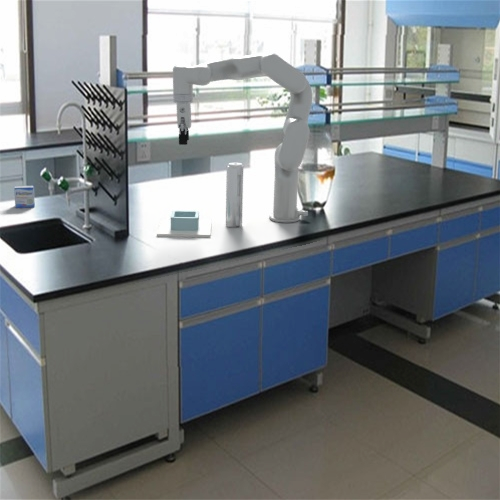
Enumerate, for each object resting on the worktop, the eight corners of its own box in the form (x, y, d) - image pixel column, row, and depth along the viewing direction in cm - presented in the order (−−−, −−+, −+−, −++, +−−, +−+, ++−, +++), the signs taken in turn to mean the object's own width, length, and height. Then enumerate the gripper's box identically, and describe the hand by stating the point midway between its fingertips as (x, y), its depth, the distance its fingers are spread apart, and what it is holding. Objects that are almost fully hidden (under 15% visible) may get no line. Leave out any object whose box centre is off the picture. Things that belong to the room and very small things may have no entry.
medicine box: (15, 208, 302) (13, 188, 300) (15, 205, 307) (14, 185, 304) (34, 207, 304) (33, 187, 302) (35, 204, 309) (33, 184, 306)
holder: (211, 222, 290) (211, 208, 288) (210, 237, 271) (210, 221, 269) (161, 221, 289) (161, 207, 287) (156, 236, 270) (156, 221, 268)
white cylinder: (241, 223, 289) (243, 161, 282) (242, 228, 283) (243, 165, 275) (225, 223, 289) (226, 161, 281) (225, 227, 283) (226, 164, 275)
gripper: (191, 100, 271) (192, 146, 276) (194, 95, 287) (194, 138, 293) (171, 100, 271) (172, 146, 276) (175, 95, 287) (176, 138, 293)
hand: (184, 142), depth 284 cm, fingers open, 9 cm apart
